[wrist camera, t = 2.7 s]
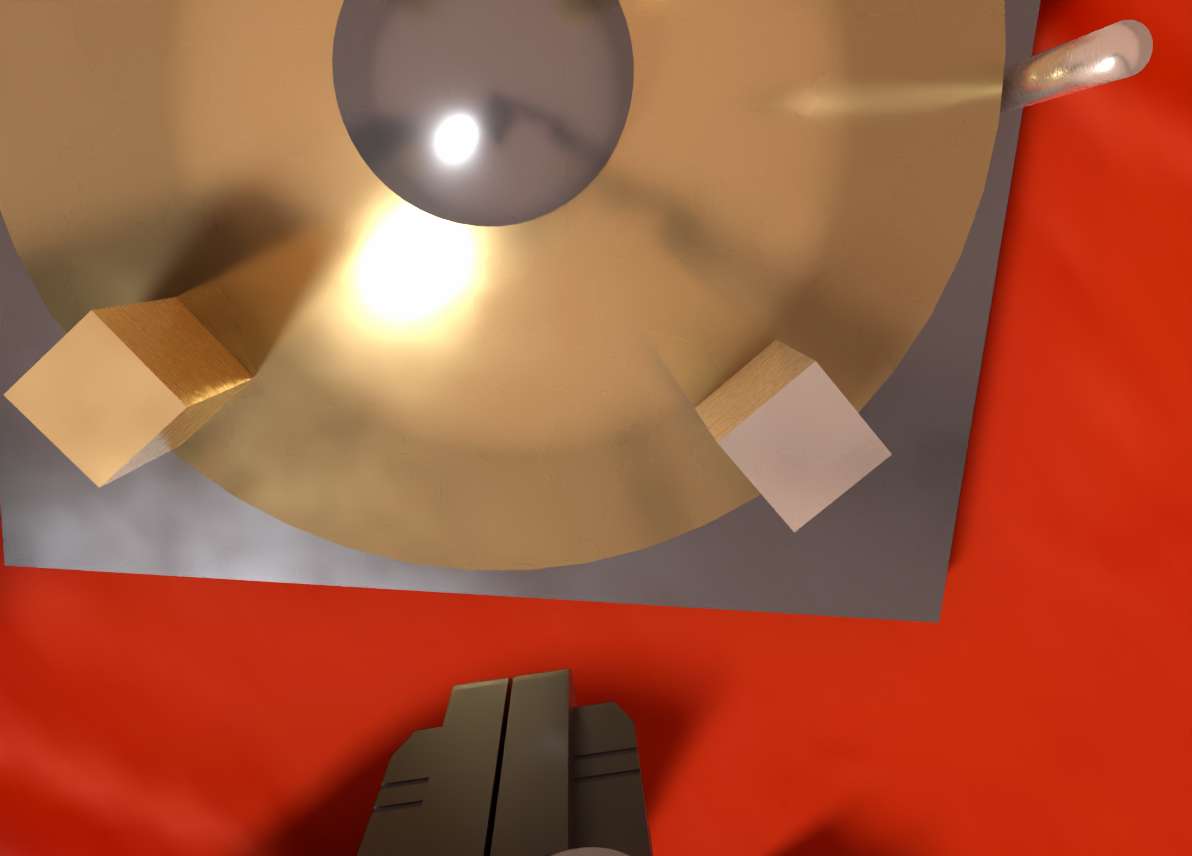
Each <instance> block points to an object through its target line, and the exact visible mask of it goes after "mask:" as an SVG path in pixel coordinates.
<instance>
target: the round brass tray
mask: <svg viewBox="0 0 1192 856" xmlns="http://www.w3.org/2000/svg"><path fill="white" fill-rule="evenodd" d="M1005 54H1006V41H1005V2H1004V0H0V211H1V214H2V216H3V219H4V221H5V224H6V226H7V229H8V231H9V234H10V236H11V239H12V242H13V244H14V247H15V249H16V251H17V253H18V255H19V257H20V258H21V260H22V262H23V264H24V266H25V268H26V270H27V271H28V273H29V275H30V277H31V279H32V281H33V283H34V285H35V286H36V288H37V290H38V292H39V294H40V296H41V298H42V299H43V301H44V303H45V305H46V307H47V309H48V310H49V312H50V313H51V315H52V316H53V318H54V319H55V320H56V322H57V323H58V325H59V326H60V328H61V329H62V330H63V332H64V333H65V336H64V337H63V338H62V339H61V340H60V341H59V342H58V343H57V344H56V345H55V346H54V347H53V348H51V349H50V350H49V351H48V352H47V353H46V354H45V355H44V356H43V357H42V358H41V359H40V360H39V361H38V362H37V363H36V364H35V365H34V366H33V367H32V368H31V369H30V370H29V371H28V372H26V373H25V374H24V375H23V376H22V377H21V378H20V379H19V380H18V381H17V382H16V383H15V384H14V385H13V386H12V387H11V388H10V389H9V390H8V391H7V392H6V393H5V394H4V396H5V397H6V398H7V399H8V400H9V401H10V402H11V403H12V404H13V405H14V406H15V407H16V408H17V409H18V410H19V411H20V412H22V413H23V414H24V415H25V416H26V417H27V418H28V419H29V420H30V421H31V422H32V423H33V424H34V425H35V426H36V427H37V428H38V429H39V430H40V431H41V432H42V433H43V434H44V435H45V436H46V437H47V438H48V439H49V440H50V441H51V442H52V443H53V444H55V445H56V446H57V447H58V448H59V449H60V450H61V451H62V452H63V453H64V454H65V455H66V456H67V457H68V458H69V459H70V460H71V461H72V462H73V463H74V464H75V465H76V466H77V467H78V468H79V469H80V470H81V471H82V472H83V473H84V474H85V475H86V476H88V477H89V478H90V479H91V480H92V481H93V482H94V483H95V484H96V485H97V486H98V487H99V488H100V487H102V486H104V485H106V484H108V483H110V482H112V481H114V480H116V479H117V478H119V477H121V476H123V475H125V474H127V473H129V472H131V471H133V470H135V469H137V468H138V467H140V466H142V465H144V464H146V463H148V462H150V461H152V460H154V459H156V458H157V457H159V456H161V455H163V454H165V453H167V452H169V451H172V452H173V453H174V454H176V455H177V456H178V457H179V458H180V459H181V460H183V461H184V462H186V463H187V464H189V465H190V466H191V467H193V468H194V469H196V470H197V471H199V472H200V473H201V474H203V475H204V476H206V477H207V478H209V479H210V480H212V481H213V482H214V483H216V484H217V485H219V486H220V487H222V488H223V489H225V490H226V491H227V492H229V493H230V494H232V495H233V496H235V497H237V498H239V499H241V500H243V501H244V502H246V503H248V504H250V505H252V506H254V507H256V508H258V509H260V510H261V511H263V512H265V513H267V514H269V515H271V516H273V517H275V518H277V519H278V520H280V521H282V522H284V523H286V524H288V525H290V526H292V527H295V528H298V529H300V530H303V531H305V532H308V533H311V534H313V535H316V536H318V537H321V538H324V539H326V540H329V541H332V542H334V543H337V544H339V545H342V546H345V547H347V548H351V549H355V550H359V551H363V552H367V553H371V554H375V555H379V556H383V557H387V558H391V559H395V560H399V561H403V562H407V563H414V564H422V565H430V566H438V567H446V568H454V569H463V570H534V569H542V568H550V567H558V566H566V565H574V564H582V563H589V562H593V561H597V560H601V559H605V558H609V557H613V556H617V555H621V554H625V553H629V552H633V551H637V550H641V549H645V548H648V547H650V546H653V545H656V544H658V543H661V542H663V541H666V540H668V539H671V538H674V537H676V536H679V535H681V534H684V533H686V532H689V531H692V530H694V529H697V528H699V527H702V526H704V525H706V524H708V523H710V522H711V521H713V520H715V519H717V518H719V517H721V516H723V515H724V514H726V513H728V512H730V511H732V510H734V509H735V508H737V507H739V506H741V505H743V504H745V503H747V502H748V501H750V500H752V499H754V498H756V497H758V496H759V495H760V494H762V495H763V497H764V498H765V499H766V500H767V501H768V502H769V504H770V505H771V506H772V507H773V508H774V509H775V511H776V512H777V513H778V514H779V515H780V516H781V518H782V519H783V520H784V521H785V522H786V523H787V525H788V526H789V527H790V528H791V529H792V530H793V532H796V531H797V530H798V529H799V528H801V527H802V526H803V525H804V524H806V523H807V522H808V521H809V520H811V519H812V518H813V517H814V516H816V515H817V514H818V513H819V512H821V511H822V510H823V509H824V508H826V507H827V506H828V505H829V504H831V503H832V502H833V501H834V500H836V499H837V498H838V497H839V496H841V495H842V494H843V493H844V492H846V491H847V490H848V489H849V488H851V487H852V486H853V485H854V484H856V483H857V482H858V481H859V480H861V479H862V478H863V477H864V476H866V475H867V474H868V473H869V472H871V471H872V470H873V469H874V468H876V467H877V466H878V465H879V464H881V463H882V462H883V461H884V460H886V459H887V458H888V457H889V456H891V455H892V454H891V453H890V451H889V450H888V449H887V448H886V446H885V445H884V444H883V443H882V442H881V440H880V439H879V438H878V437H877V435H876V434H875V433H874V432H873V431H872V429H871V428H870V427H869V426H868V424H867V423H866V422H865V421H864V420H863V418H862V417H861V416H860V415H859V412H860V410H861V409H862V408H863V407H864V406H865V405H866V403H867V402H868V401H869V400H870V399H871V398H872V396H873V395H874V394H875V393H876V392H877V390H878V389H879V388H880V387H881V386H882V385H883V383H884V382H885V381H886V380H887V379H888V378H889V376H890V375H891V374H892V373H893V372H894V370H895V369H896V368H897V366H898V365H899V363H900V362H901V360H902V359H903V357H904V356H905V354H906V353H907V351H908V350H909V348H910V347H911V345H912V343H913V342H914V340H915V339H916V337H917V336H918V334H919V333H920V331H921V330H922V328H923V327H924V325H925V324H926V322H927V321H928V319H929V318H930V316H931V315H932V313H933V311H934V309H935V307H936V305H937V303H938V301H939V298H940V296H941V294H942V292H943V290H944V288H945V286H946V284H947V282H948V280H949V278H950V276H951V274H952V272H953V270H954V268H955V266H956V264H957V262H958V260H959V258H960V256H961V254H962V251H963V248H964V245H965V242H966V240H967V237H968V234H969V231H970V228H971V225H972V223H973V220H974V217H975V214H976V211H977V208H978V206H979V203H980V200H981V197H982V194H983V191H984V187H985V183H986V178H987V174H988V169H989V165H990V160H991V156H992V151H993V147H994V142H995V138H996V133H997V129H998V124H999V116H1000V106H1001V96H1002V85H1003V75H1004V65H1005Z"/></svg>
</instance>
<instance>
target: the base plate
mask: <svg viewBox="0 0 1192 856" xmlns="http://www.w3.org/2000/svg"><path fill="white" fill-rule="evenodd" d="M1004 2H1005V41H1006V54H1005V65H1004V75H1003V85H1002V96H1001V106H1000V116H999V124H998V129H997V133H996V138H995V142H994V147H993V151H992V156H991V160H990V165H989V169H988V174H987V178H986V183H985V187H984V191H983V194H982V197H981V200H980V203H979V206H978V208H977V211H976V214H975V217H974V220H973V223H972V225H971V228H970V231H969V234H968V237H967V240H966V242H965V245H964V248H963V251H962V254H961V256H960V258H959V260H958V262H957V264H956V266H955V268H954V270H953V272H952V274H951V276H950V278H949V280H948V282H947V284H946V286H945V288H944V290H943V292H942V294H941V296H940V298H939V301H938V303H937V305H936V307H935V309H934V311H933V313H932V315H931V316H930V318H929V319H928V321H927V322H926V324H925V325H924V327H923V328H922V330H921V331H920V333H919V334H918V336H917V337H916V339H915V340H914V342H913V343H912V345H911V347H910V348H909V350H908V351H907V353H906V354H905V356H904V357H903V359H902V360H901V362H900V363H899V365H898V366H897V368H896V369H895V370H894V372H893V373H892V374H891V375H890V376H889V378H888V379H887V380H886V381H885V382H884V383H883V385H882V386H881V387H880V388H879V389H878V390H877V392H876V393H875V394H874V395H873V396H872V398H871V399H870V400H869V401H868V402H867V403H866V405H865V406H864V407H863V408H862V409H861V410H860V412H859V415H860V416H861V417H862V418H863V420H864V421H865V422H866V423H867V424H868V426H869V427H870V428H871V429H872V431H873V432H874V433H875V434H876V435H877V437H878V438H879V439H880V440H881V442H882V443H883V444H884V445H885V446H886V448H887V449H888V450H889V451H890V453H891V454H892V455H891V456H889V457H888V458H887V459H886V460H884V461H883V462H882V463H881V464H879V465H878V466H877V467H876V468H874V469H873V470H872V471H871V472H869V473H868V474H867V475H866V476H864V477H863V478H862V479H861V480H859V481H858V482H857V483H856V484H854V485H853V486H852V487H851V488H849V489H848V490H847V491H846V492H844V493H843V494H842V495H841V496H839V497H838V498H837V499H836V500H834V501H833V502H832V503H831V504H829V505H828V506H827V507H826V508H824V509H823V510H822V511H821V512H819V513H818V514H817V515H816V516H814V517H813V518H812V519H811V520H809V521H808V522H807V523H806V524H804V525H803V526H802V527H801V528H799V529H798V530H797V531H796V532H793V530H792V529H791V528H790V527H789V526H788V525H787V523H786V522H785V521H784V520H783V519H782V518H781V516H780V515H779V514H778V513H777V512H776V511H775V509H774V508H773V507H772V506H771V505H770V504H769V502H768V501H767V500H766V499H765V498H764V497H763V495H762V494H760V495H759V496H758V497H756V498H754V499H752V500H750V501H748V502H747V503H745V504H743V505H741V506H739V507H737V508H735V509H734V510H732V511H730V512H728V513H726V514H724V515H723V516H721V517H719V518H717V519H715V520H713V521H711V522H710V523H708V524H706V525H704V526H702V527H699V528H697V529H694V530H692V531H689V532H686V533H684V534H681V535H679V536H676V537H674V538H671V539H668V540H666V541H663V542H661V543H658V544H656V545H653V546H650V547H648V548H645V549H641V550H637V551H633V552H629V553H625V554H621V555H617V556H613V557H609V558H605V559H601V560H597V561H593V562H589V563H582V564H574V565H566V566H558V567H550V568H542V569H534V570H463V569H454V568H446V567H438V566H430V565H422V564H414V563H407V562H403V561H399V560H395V559H391V558H387V557H383V556H379V555H375V554H371V553H367V552H363V551H359V550H355V549H351V548H347V547H345V546H342V545H339V544H337V543H334V542H332V541H329V540H326V539H324V538H321V537H318V536H316V535H313V534H311V533H308V532H305V531H303V530H300V529H298V528H295V527H292V526H290V525H288V524H286V523H284V522H282V521H280V520H278V519H277V518H275V517H273V516H271V515H269V514H267V513H265V512H263V511H261V510H260V509H258V508H256V507H254V506H252V505H250V504H248V503H246V502H244V501H243V500H241V499H239V498H237V497H235V496H233V495H232V494H230V493H229V492H227V491H226V490H225V489H223V488H222V487H220V486H219V485H217V484H216V483H214V482H213V481H212V480H210V479H209V478H207V477H206V476H204V475H203V474H201V473H200V472H199V471H197V470H196V469H194V468H193V467H191V466H190V465H189V464H187V463H186V462H184V461H183V460H181V459H180V458H179V457H178V456H177V455H176V454H174V453H173V452H172V451H169V452H167V453H165V454H163V455H161V456H159V457H157V458H156V459H154V460H152V461H150V462H148V463H146V464H144V465H142V466H140V467H138V468H137V469H135V470H133V471H131V472H129V473H127V474H125V475H123V476H121V477H119V478H117V479H116V480H114V481H112V482H110V483H108V484H106V485H104V486H102V487H100V488H99V487H98V486H97V485H96V484H95V483H94V482H93V481H92V480H91V479H90V478H89V477H88V476H86V475H85V474H84V473H83V472H82V471H81V470H80V469H79V468H78V467H77V466H76V465H75V464H74V463H73V462H72V461H71V460H70V459H69V458H68V457H67V456H66V455H65V454H64V453H63V452H62V451H61V450H60V449H59V448H58V447H57V446H56V445H55V444H53V443H52V442H51V441H50V440H49V439H48V438H47V437H46V436H45V435H44V434H43V433H42V432H41V431H40V430H39V429H38V428H37V427H36V426H35V425H34V424H33V423H32V422H31V421H30V420H29V419H28V418H27V417H26V416H25V415H24V414H23V413H22V412H20V411H19V410H18V409H17V408H16V407H15V406H14V405H13V404H12V403H11V402H10V401H9V400H8V399H7V398H6V397H5V396H4V394H5V393H6V392H7V391H8V390H9V389H10V388H11V387H12V386H13V385H14V384H15V383H16V382H17V381H18V380H19V379H20V378H21V377H22V376H23V375H24V374H25V373H26V372H28V371H29V370H30V369H31V368H32V367H33V366H34V365H35V364H36V363H37V362H38V361H39V360H40V359H41V358H42V357H43V356H44V355H45V354H46V353H47V352H48V351H49V350H50V349H51V348H53V347H54V346H55V345H56V344H57V343H58V342H59V341H60V340H61V339H62V338H63V337H64V336H65V333H64V332H63V330H62V329H61V328H60V326H59V325H58V323H57V322H56V320H55V319H54V318H53V316H52V315H51V313H50V312H49V310H48V309H47V307H46V305H45V303H44V301H43V299H42V298H41V296H40V294H39V292H38V290H37V288H36V286H35V285H34V283H33V281H32V279H31V277H30V275H29V273H28V271H27V270H26V268H25V266H24V264H23V262H22V260H21V258H20V257H19V255H18V253H17V251H16V249H15V247H14V244H13V242H12V239H11V236H10V234H9V231H8V229H7V226H6V224H5V221H4V219H3V216H2V214H1V211H0V505H1V520H2V534H3V548H4V563H5V565H7V566H23V567H39V568H56V569H72V570H88V571H105V572H121V573H137V574H154V575H170V576H186V577H203V578H219V579H235V580H252V581H268V582H284V583H301V584H317V585H333V586H350V587H366V588H382V589H399V590H415V591H431V592H448V593H464V594H480V595H497V596H513V597H529V598H546V599H562V600H579V601H595V602H611V603H628V604H644V605H660V606H677V607H693V608H709V609H726V610H742V611H758V612H775V613H791V614H807V615H824V616H840V617H856V618H873V619H889V620H905V621H922V622H938V623H939V619H940V613H941V607H942V601H943V594H944V588H945V582H946V576H947V570H948V564H949V558H950V552H951V546H952V539H953V533H954V527H955V521H956V515H957V509H958V503H959V497H960V491H961V484H962V478H963V472H964V466H965V460H966V454H967V448H968V442H969V436H970V429H971V423H972V417H973V411H974V405H975V399H976V393H977V387H978V381H979V374H980V368H981V362H982V356H983V350H984V344H985V338H986V332H987V326H988V319H989V313H990V307H991V301H992V295H993V289H994V283H995V277H996V271H997V264H998V258H999V252H1000V246H1001V240H1002V234H1003V228H1004V222H1005V216H1006V209H1007V203H1008V197H1009V191H1010V185H1011V179H1012V173H1013V167H1014V161H1015V154H1016V148H1017V142H1018V136H1019V130H1020V124H1021V118H1022V112H1023V107H1026V106H1029V105H1033V104H1036V103H1040V102H1043V101H1047V100H1050V99H1054V98H1057V97H1061V96H1064V95H1068V94H1071V93H1074V92H1078V91H1081V90H1085V89H1088V88H1092V87H1095V86H1099V85H1102V84H1106V83H1109V82H1112V81H1116V80H1119V79H1123V78H1126V77H1130V76H1133V75H1135V74H1137V73H1138V72H1140V71H1141V70H1142V69H1143V68H1144V67H1145V66H1146V64H1147V63H1148V61H1149V59H1150V57H1151V54H1152V49H1153V42H1152V37H1151V34H1150V32H1149V30H1148V29H1147V28H1146V27H1145V26H1144V25H1143V24H1142V23H1140V22H1138V21H1135V20H1123V21H1120V22H1117V23H1115V24H1112V25H1110V26H1107V27H1105V28H1102V29H1100V30H1097V31H1095V32H1092V33H1090V34H1087V35H1085V36H1082V37H1079V38H1077V39H1074V40H1072V41H1069V42H1067V43H1064V44H1062V45H1059V46H1057V47H1054V48H1052V49H1049V50H1047V51H1044V52H1042V53H1039V54H1037V55H1034V56H1032V51H1033V44H1034V38H1035V32H1036V26H1037V20H1038V14H1039V8H1040V2H1041V0H1004Z"/></svg>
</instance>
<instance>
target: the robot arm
mask: <svg viewBox="0 0 1192 856" xmlns="http://www.w3.org/2000/svg"><path fill="white" fill-rule="evenodd" d="M357 856H653V851H652V844H651V836H650V828H649V822H648V815H647V808H646V801H645V794H644V787H643V781H642V774H641V767H640V760H639V753H638V747H637V740H636V733H635V726H634V721H633V720H632V719H631V718H630V717H629V716H628V715H627V714H626V713H625V712H624V711H623V710H622V709H621V708H620V707H619V706H618V705H617V704H616V703H615V702H608V703H601V704H594V705H587V706H580V707H577V703H576V696H575V690H574V684H573V679H572V674H571V671H570V669H563V670H556V671H549V672H542V673H536V674H529V675H522V676H515V677H514V678H513V681H512V679H511V678H510V677H509V678H502V679H495V680H488V681H481V682H474V683H467V684H460V685H455V686H454V687H453V689H452V692H451V696H450V700H449V704H448V707H447V711H446V715H445V719H444V723H443V727H436V728H429V729H422V730H416V731H415V732H414V733H413V734H412V735H411V736H410V737H409V738H408V739H407V740H406V741H405V742H404V743H403V744H402V745H401V746H400V748H399V749H398V750H397V751H396V752H395V753H394V754H393V755H392V756H391V758H390V761H389V764H388V767H387V770H386V773H385V776H384V779H383V781H382V789H381V790H379V793H378V796H377V799H376V802H375V805H374V813H371V816H370V819H369V822H368V825H367V828H366V831H365V834H364V837H363V839H362V842H361V845H360V848H359V851H358V854H357Z"/></svg>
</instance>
